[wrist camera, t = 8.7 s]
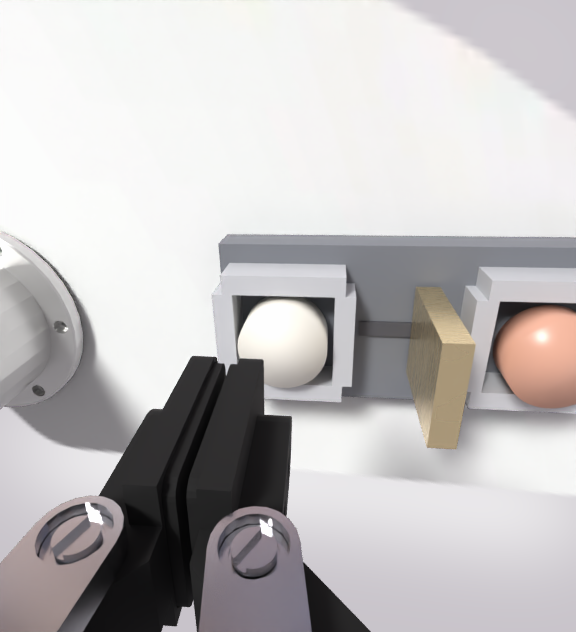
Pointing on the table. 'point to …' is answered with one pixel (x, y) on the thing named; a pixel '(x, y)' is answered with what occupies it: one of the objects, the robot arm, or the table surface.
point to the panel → (392, 302)
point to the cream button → (285, 340)
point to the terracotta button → (539, 355)
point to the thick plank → (438, 366)
